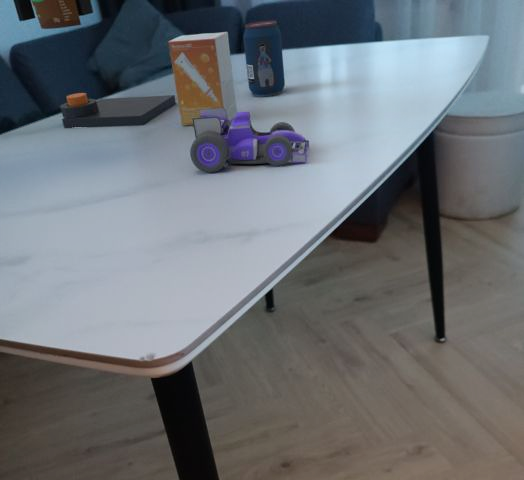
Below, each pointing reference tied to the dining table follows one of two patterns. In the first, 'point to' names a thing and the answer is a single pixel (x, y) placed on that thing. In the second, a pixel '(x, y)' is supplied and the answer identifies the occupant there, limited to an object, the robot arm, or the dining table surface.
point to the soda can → (264, 58)
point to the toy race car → (241, 142)
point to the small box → (202, 74)
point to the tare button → (77, 99)
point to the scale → (116, 111)
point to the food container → (56, 13)
